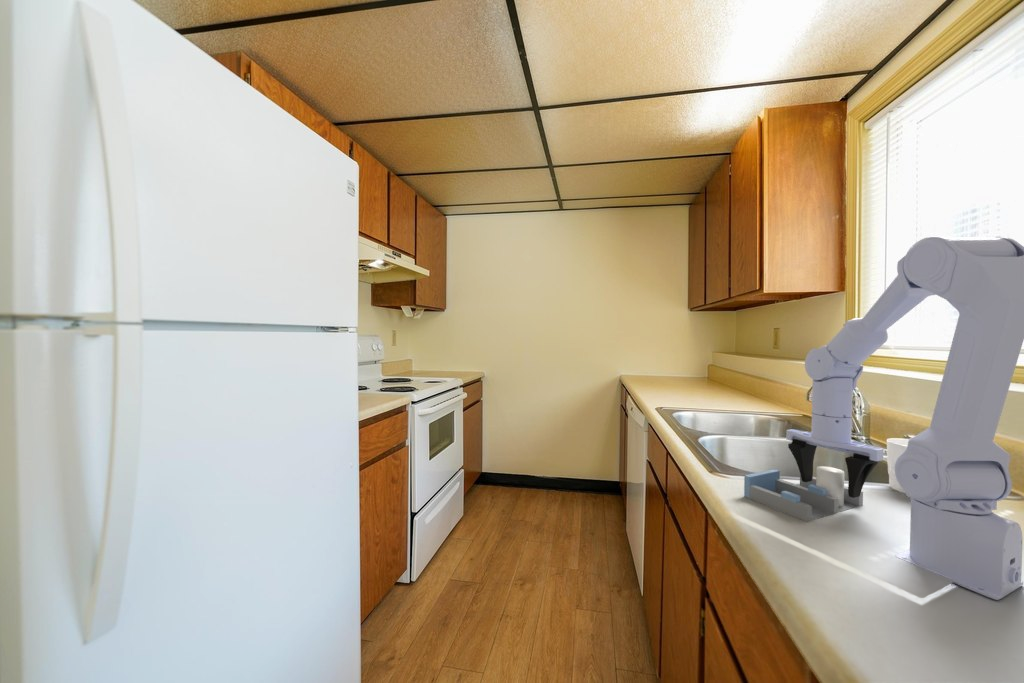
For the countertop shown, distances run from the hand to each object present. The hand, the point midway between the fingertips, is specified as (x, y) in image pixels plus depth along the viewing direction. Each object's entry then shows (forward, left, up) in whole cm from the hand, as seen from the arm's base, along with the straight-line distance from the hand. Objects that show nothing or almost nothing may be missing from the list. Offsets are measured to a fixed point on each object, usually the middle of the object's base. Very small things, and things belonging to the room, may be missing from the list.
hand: (829, 488), depth 73 cm
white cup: (-3, -22, -3) cm, 23 cm away
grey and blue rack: (+2, +4, -3) cm, 5 cm away
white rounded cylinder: (0, 0, -3) cm, 3 cm away
